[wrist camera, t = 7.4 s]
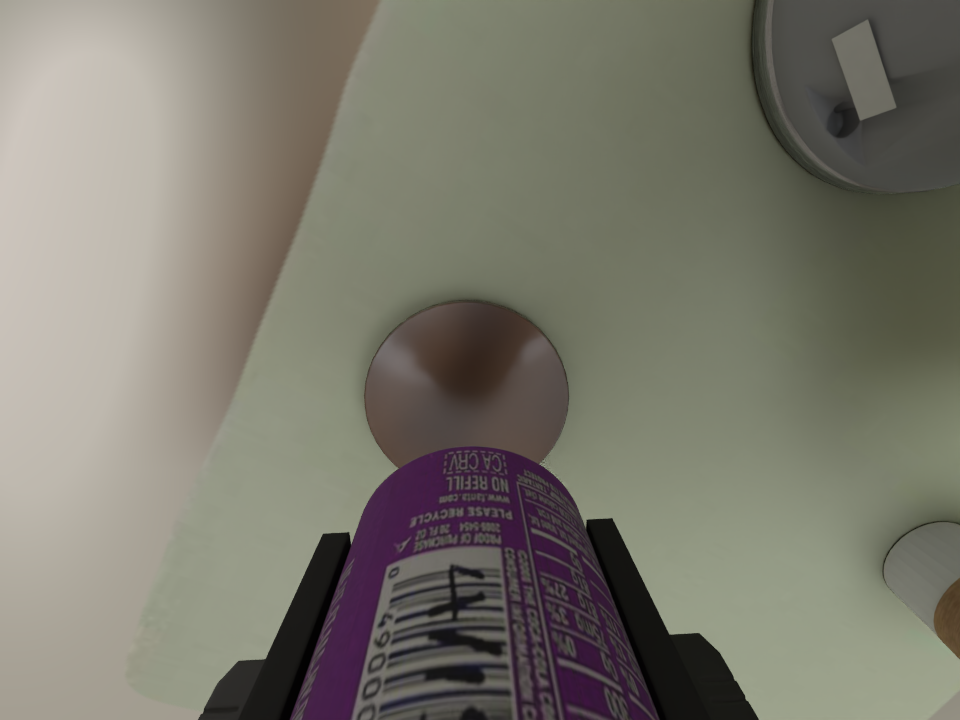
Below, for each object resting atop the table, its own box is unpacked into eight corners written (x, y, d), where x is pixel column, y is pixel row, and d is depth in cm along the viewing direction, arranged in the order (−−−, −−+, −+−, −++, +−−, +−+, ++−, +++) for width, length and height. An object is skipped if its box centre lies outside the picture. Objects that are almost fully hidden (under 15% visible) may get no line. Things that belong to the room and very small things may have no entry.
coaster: (568, 295, 24) (571, 297, 23) (564, 482, 27) (567, 487, 26) (355, 304, 24) (352, 306, 23) (377, 491, 27) (375, 497, 26)
